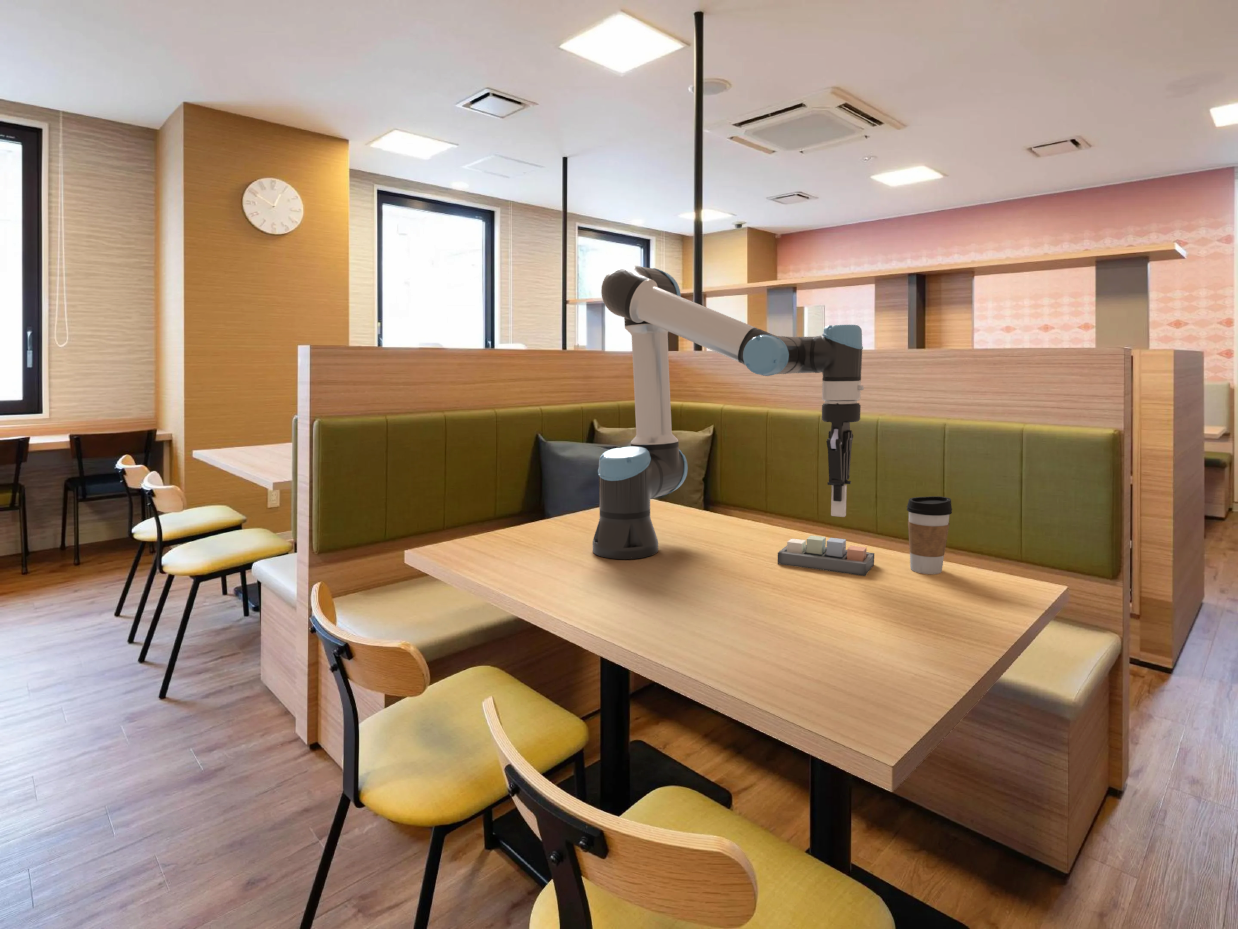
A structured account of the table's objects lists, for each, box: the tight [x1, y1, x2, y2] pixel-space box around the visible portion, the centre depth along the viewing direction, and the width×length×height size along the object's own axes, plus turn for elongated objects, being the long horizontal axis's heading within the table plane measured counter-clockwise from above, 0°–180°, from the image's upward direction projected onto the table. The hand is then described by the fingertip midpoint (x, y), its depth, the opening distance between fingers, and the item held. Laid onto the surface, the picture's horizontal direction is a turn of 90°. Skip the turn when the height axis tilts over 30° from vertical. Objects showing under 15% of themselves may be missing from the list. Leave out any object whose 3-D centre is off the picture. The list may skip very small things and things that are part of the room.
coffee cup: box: [906, 495, 953, 575], centre depth 141 cm, size 8×8×15 cm
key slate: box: [826, 537, 847, 557], centre depth 146 cm, size 3×3×3 cm
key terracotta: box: [846, 545, 868, 562], centre depth 144 cm, size 3×3×3 cm
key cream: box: [786, 538, 807, 554], centre depth 150 cm, size 3×3×3 cm
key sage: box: [806, 535, 827, 554], centre depth 148 cm, size 3×3×3 cm
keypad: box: [777, 544, 875, 577], centre depth 147 cm, size 18×9×2 cm, turn 60°
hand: (838, 515), depth 144 cm, fingers closed
